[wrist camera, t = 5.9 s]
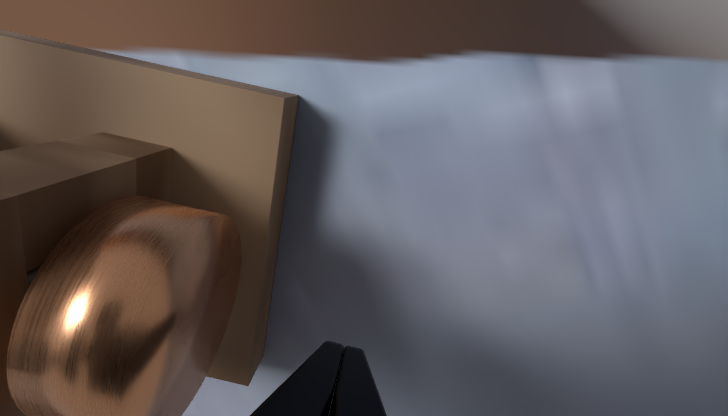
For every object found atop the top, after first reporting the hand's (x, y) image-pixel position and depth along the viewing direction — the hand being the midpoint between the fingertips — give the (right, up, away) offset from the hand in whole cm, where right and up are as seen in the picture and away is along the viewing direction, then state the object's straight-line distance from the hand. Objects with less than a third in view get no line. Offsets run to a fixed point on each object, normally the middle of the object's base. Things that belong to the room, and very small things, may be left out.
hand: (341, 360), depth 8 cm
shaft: (-9, +3, +3) cm, 10 cm away
